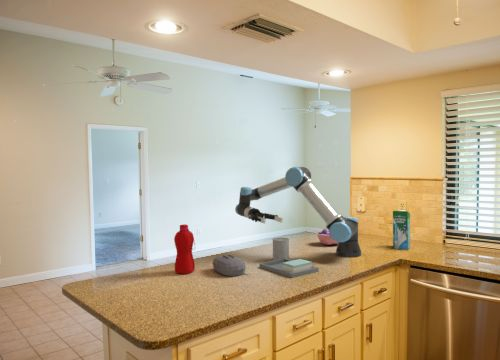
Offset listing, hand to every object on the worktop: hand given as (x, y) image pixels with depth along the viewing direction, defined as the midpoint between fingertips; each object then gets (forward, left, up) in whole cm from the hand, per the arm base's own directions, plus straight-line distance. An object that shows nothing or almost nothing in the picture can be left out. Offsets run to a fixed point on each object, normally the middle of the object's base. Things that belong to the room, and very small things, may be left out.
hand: (273, 220), depth 229 cm
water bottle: (+31, +48, -22) cm, 61 cm away
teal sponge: (-24, +31, -21) cm, 44 cm away
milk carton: (-69, -54, -22) cm, 91 cm away
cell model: (-23, -49, -22) cm, 59 cm away
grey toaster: (+10, +39, -22) cm, 46 cm away
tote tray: (-18, +27, -22) cm, 39 cm away
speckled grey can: (-6, +5, -22) cm, 24 cm away
